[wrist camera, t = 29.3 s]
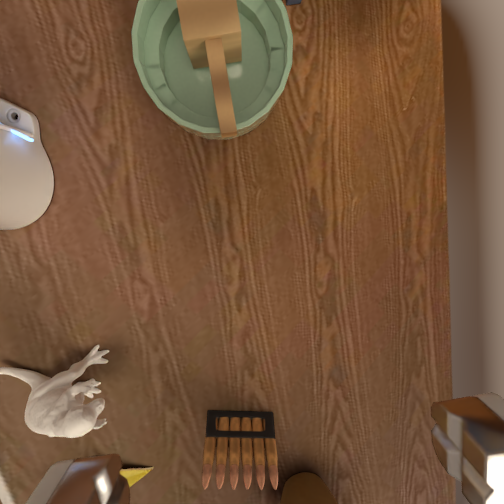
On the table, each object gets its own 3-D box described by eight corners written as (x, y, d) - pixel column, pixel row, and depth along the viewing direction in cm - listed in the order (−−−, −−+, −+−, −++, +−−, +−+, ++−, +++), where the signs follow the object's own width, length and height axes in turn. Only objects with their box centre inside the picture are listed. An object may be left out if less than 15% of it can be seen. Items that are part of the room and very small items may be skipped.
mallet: (254, 140, 37) (256, 126, 31) (207, 148, 37) (200, 136, 31) (235, 21, 36) (233, -18, 30) (186, 29, 36) (174, -8, 30)
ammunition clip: (273, 411, 48) (283, 483, 37) (272, 421, 49) (282, 495, 37) (207, 410, 48) (197, 482, 36) (207, 419, 48) (197, 494, 37)
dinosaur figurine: (136, 341, 45) (87, 415, 30) (141, 396, 47) (98, 489, 32) (0, 344, 44) (-117, 421, 30) (11, 399, 46) (-92, 497, 32)
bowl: (121, 82, 37) (101, 64, 32) (199, -47, 34) (191, -90, 29) (232, 167, 40) (231, 164, 34) (312, 53, 37) (324, 31, 32)
